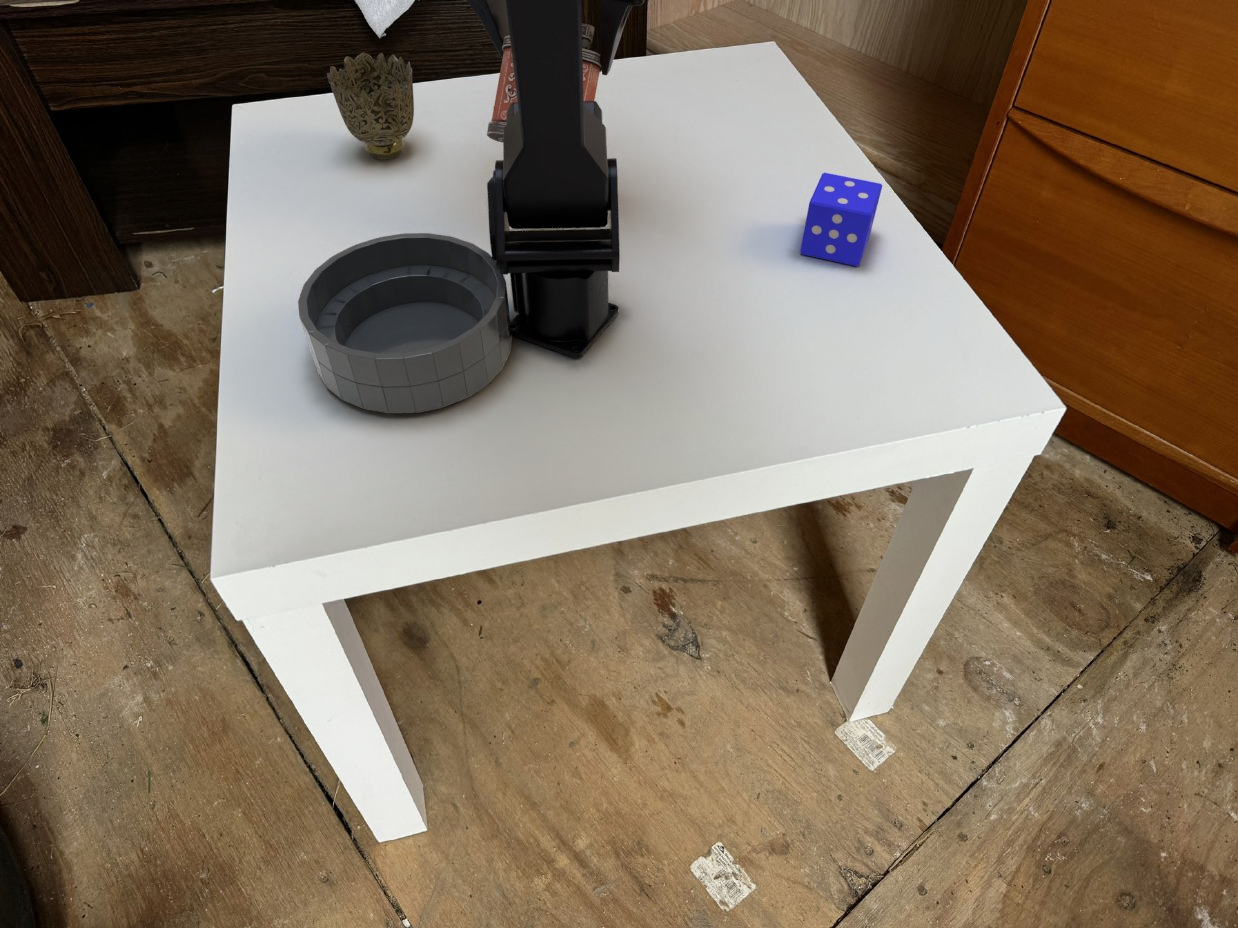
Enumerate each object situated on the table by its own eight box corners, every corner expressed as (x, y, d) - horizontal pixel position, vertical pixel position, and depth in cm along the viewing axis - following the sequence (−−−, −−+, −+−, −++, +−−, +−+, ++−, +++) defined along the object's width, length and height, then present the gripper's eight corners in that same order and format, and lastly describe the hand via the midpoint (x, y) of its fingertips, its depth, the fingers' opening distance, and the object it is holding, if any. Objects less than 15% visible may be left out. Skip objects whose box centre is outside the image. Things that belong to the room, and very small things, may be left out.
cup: (390, 181, 81) (373, 96, 75) (330, 159, 84) (309, 76, 78) (440, 145, 86) (428, 63, 80) (382, 126, 88) (365, 45, 82)
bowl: (547, 326, 68) (543, 266, 63) (437, 445, 59) (424, 385, 55) (398, 273, 72) (385, 214, 68) (276, 377, 64) (253, 317, 59)
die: (858, 267, 73) (871, 214, 69) (799, 254, 74) (809, 201, 70) (869, 235, 76) (883, 183, 72) (812, 223, 77) (822, 171, 73)
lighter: (587, 160, 72) (611, 35, 71) (585, 148, 68) (609, 17, 68) (490, 141, 72) (512, 16, 71) (483, 129, 68) (506, -3, 68)
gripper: (706, -185, 63) (691, 39, 74) (461, -205, 66) (483, 13, 78) (671, -141, 56) (661, 99, 67) (398, -165, 59) (433, 69, 70)
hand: (556, 66), depth 71 cm, fingers closed on lighter, 8 cm apart
